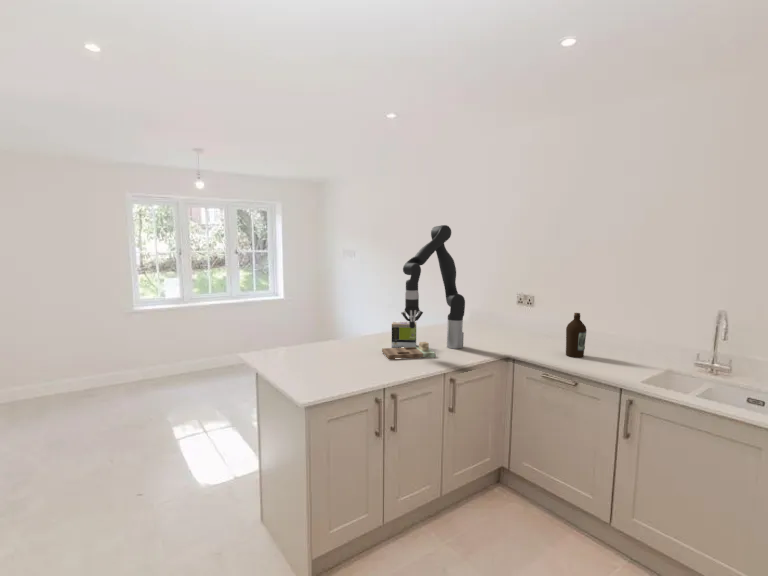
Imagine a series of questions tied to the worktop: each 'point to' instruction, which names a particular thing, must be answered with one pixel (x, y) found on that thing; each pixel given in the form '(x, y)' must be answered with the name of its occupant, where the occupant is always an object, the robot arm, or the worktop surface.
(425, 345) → the block
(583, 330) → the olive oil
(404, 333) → the tea box
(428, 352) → the board
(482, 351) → the worktop surface
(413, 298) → the robot arm
